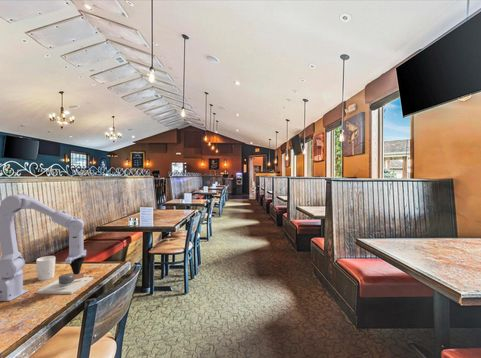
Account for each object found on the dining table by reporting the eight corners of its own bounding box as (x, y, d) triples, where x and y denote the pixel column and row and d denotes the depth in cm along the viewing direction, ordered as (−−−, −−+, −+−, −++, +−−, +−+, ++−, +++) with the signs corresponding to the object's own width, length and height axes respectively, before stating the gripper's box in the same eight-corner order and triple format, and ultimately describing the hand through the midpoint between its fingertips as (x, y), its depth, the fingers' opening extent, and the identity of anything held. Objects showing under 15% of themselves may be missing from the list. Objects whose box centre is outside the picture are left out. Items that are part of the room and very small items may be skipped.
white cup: (59, 275, 136) (59, 256, 136) (47, 281, 128) (46, 261, 128) (45, 274, 137) (45, 255, 137) (32, 280, 129) (32, 260, 129)
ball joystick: (59, 284, 119) (59, 279, 119) (57, 280, 123) (57, 275, 123) (84, 279, 126) (84, 273, 125) (82, 275, 130) (82, 270, 130)
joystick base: (71, 294, 115) (71, 289, 115) (36, 293, 115) (36, 288, 115) (93, 279, 131) (93, 275, 131) (62, 278, 131) (62, 274, 131)
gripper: (77, 249, 115) (77, 279, 115) (92, 240, 129) (92, 268, 129) (60, 249, 114) (60, 280, 114) (77, 241, 128) (77, 268, 129)
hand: (76, 273), depth 122 cm, fingers closed
